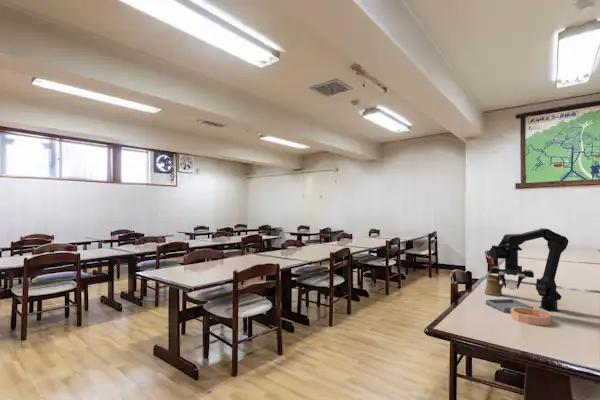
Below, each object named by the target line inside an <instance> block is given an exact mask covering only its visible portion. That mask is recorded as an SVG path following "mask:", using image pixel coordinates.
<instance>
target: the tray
mask: <svg viewBox="0 0 600 400" xmlns="http://www.w3.org/2000/svg"><path fill="white" fill-rule="evenodd" d="M485 305H487V306H489V307H491V308H493V309H494V310H498V311H499V312H502V313H505V314H507V313H508V314H509V313H510V309H511V308H513V307H525V308H532V309H534V306H531V305H529V304H526V303H523V302H521V301H518V300H516V299H513V298H507V299H506V298H504V299H502V298H501V299H500V298H498V299H485Z"/></svg>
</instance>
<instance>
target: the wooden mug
mask: <svg viewBox="0 0 600 400" xmlns="http://www.w3.org/2000/svg"><path fill="white" fill-rule="evenodd" d="M504 275H507V274H506V273H504ZM500 282H501V283H500ZM505 282H507V280H506V279H505ZM504 287H505V286H504V283H503V280H502V278H501V277H500V276H498V275H497V274H488V275H487V277H486V285H485V289H484V294H485V295H488V296H492V297H493V296H494V297H501V296H502V295H503V292H502V290H503V288H504Z"/></svg>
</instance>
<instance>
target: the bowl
mask: <svg viewBox="0 0 600 400" xmlns="http://www.w3.org/2000/svg"><path fill="white" fill-rule="evenodd" d="M509 316H510V318H511V317H512V318H513V319H512V318H511V319H512V320H514V319H515V321H516V322H519V321H520V323H523V322H524V324H526V323H527V325H532V326H548V325H549V324H551V315H550V314H549V313H548V312H547V311H546V312H545V311H544V310H542V309H540V310H539V309H536V308H533V309H532V308H525V307H513V308H511V309H510V315H509Z"/></svg>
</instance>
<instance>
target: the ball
mask: <svg viewBox="0 0 600 400" xmlns="http://www.w3.org/2000/svg"><path fill="white" fill-rule="evenodd" d="M506 288H507V289H509V290H516V289H517V282H516V281H515V280H513V279H508V280H506Z"/></svg>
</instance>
